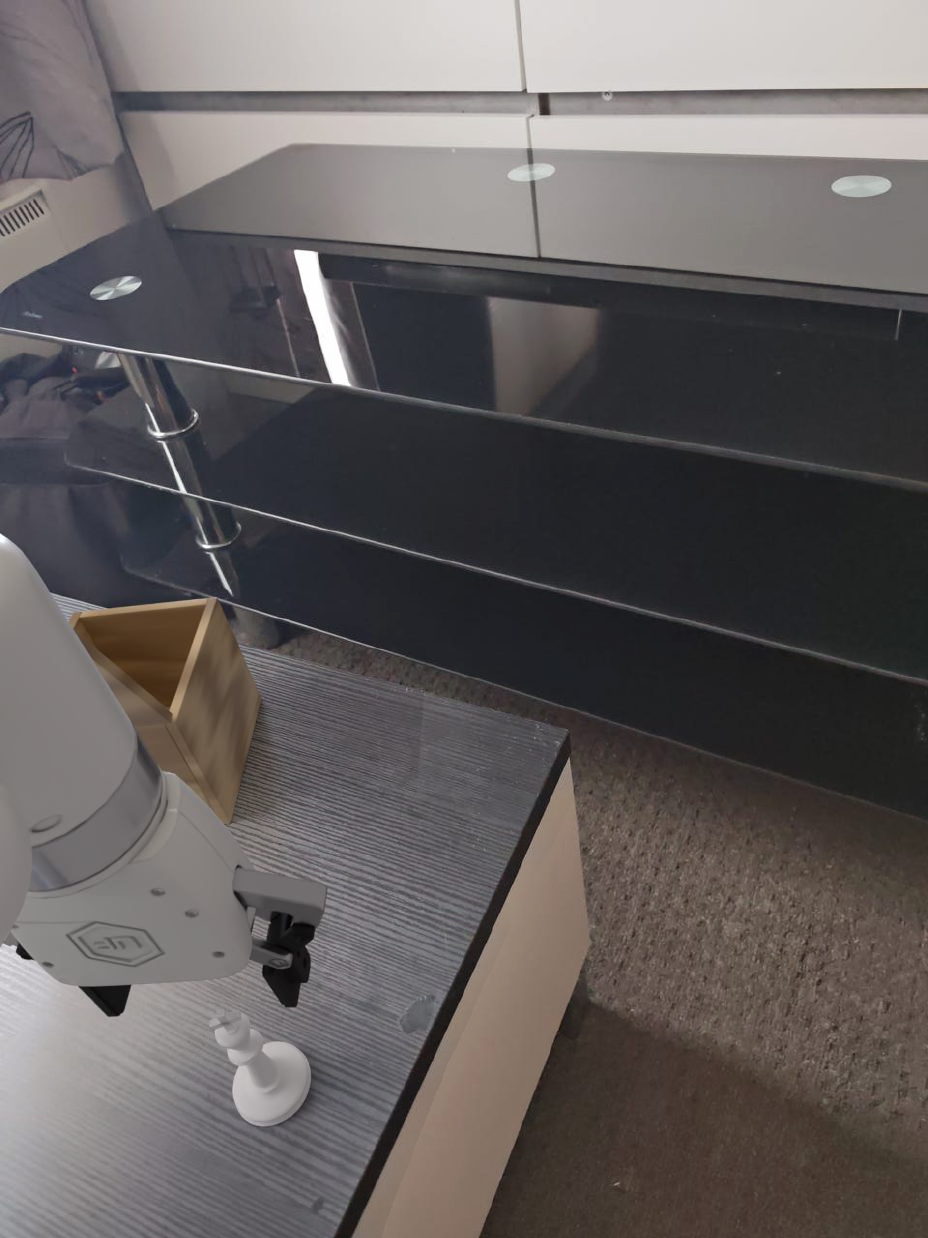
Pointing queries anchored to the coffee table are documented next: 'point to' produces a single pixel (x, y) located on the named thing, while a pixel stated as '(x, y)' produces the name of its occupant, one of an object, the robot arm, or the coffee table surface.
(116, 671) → the lid
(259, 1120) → the chess piece
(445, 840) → the coffee table surface
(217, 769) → the box
